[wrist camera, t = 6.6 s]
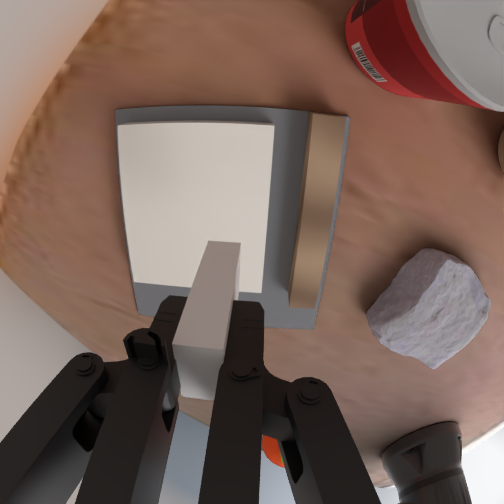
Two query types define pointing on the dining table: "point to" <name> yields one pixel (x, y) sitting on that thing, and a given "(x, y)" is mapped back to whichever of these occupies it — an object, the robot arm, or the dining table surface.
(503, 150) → the flower pot
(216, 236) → the tile
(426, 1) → the canned food
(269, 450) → the clementine
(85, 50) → the dining table surface
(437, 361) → the stone block
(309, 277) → the strip
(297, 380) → the robot arm
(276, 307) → the mat
